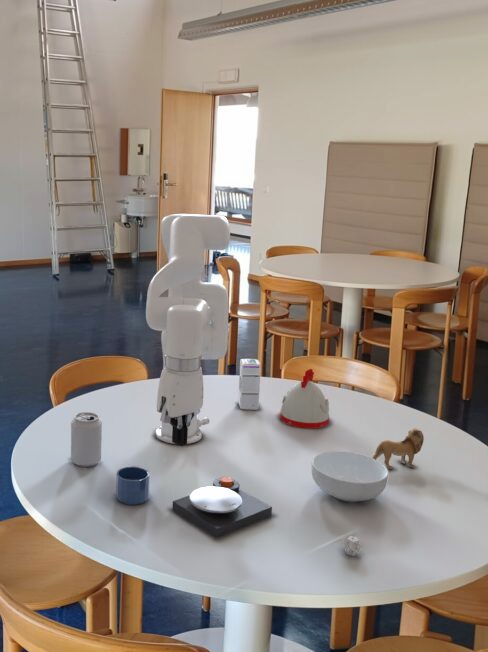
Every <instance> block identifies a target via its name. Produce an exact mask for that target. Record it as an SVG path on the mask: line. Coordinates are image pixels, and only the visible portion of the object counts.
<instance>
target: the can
mask: <svg viewBox="0 0 488 652" xmlns="http://www.w3.org/2000/svg"><path fill="white" fill-rule="evenodd" d="M102 430H103V421H102V420H101V419H100V415H99V414H97V413H95V412H91V411H90V412H89V411H84V412H78V413H75V414H74V416H73V419H72V420H71V422H70V460H71V462H73V463H74V465H76V466H78V467H93V466H96V465H97V464H98V463H99V462H101V460H102V440H103V439H102V433H103V431H102Z"/></svg>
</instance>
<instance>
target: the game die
mask: <svg viewBox="0 0 488 652" xmlns="http://www.w3.org/2000/svg"><path fill="white" fill-rule="evenodd" d="M342 546H343V548H344V550H345V553H346V555H348V556H352V557H355V556H357V554H358V553H359V552H360V551H361V550H362V546H361V544H360V541H359V539H358V537H357V536H353V535H349V536H348V537H347V538H346V539H344V541H343V543H342Z"/></svg>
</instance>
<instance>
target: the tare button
mask: <svg viewBox="0 0 488 652" xmlns="http://www.w3.org/2000/svg"><path fill="white" fill-rule="evenodd" d="M220 478H221V479H220V485H221V486H224V487H231V486H233V479H234V478H232V477H230V476H222V477H220Z"/></svg>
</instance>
